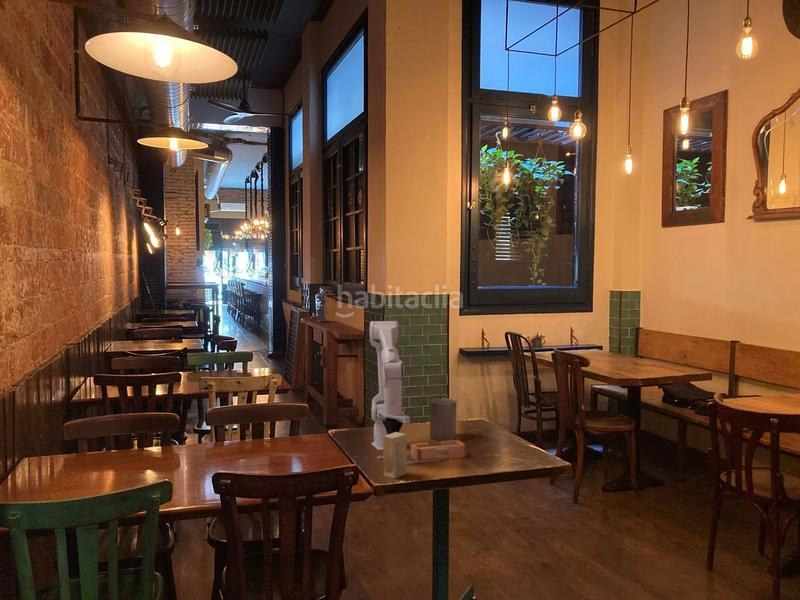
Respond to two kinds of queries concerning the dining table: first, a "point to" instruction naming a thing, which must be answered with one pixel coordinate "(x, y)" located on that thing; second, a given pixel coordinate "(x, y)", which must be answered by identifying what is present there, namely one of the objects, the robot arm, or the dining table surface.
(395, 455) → the skincare box
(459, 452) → the pink open box
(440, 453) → the pale wooden block
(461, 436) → the dining table surface
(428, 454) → the cap sliding
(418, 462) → the guide rails
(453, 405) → the pillar candle
